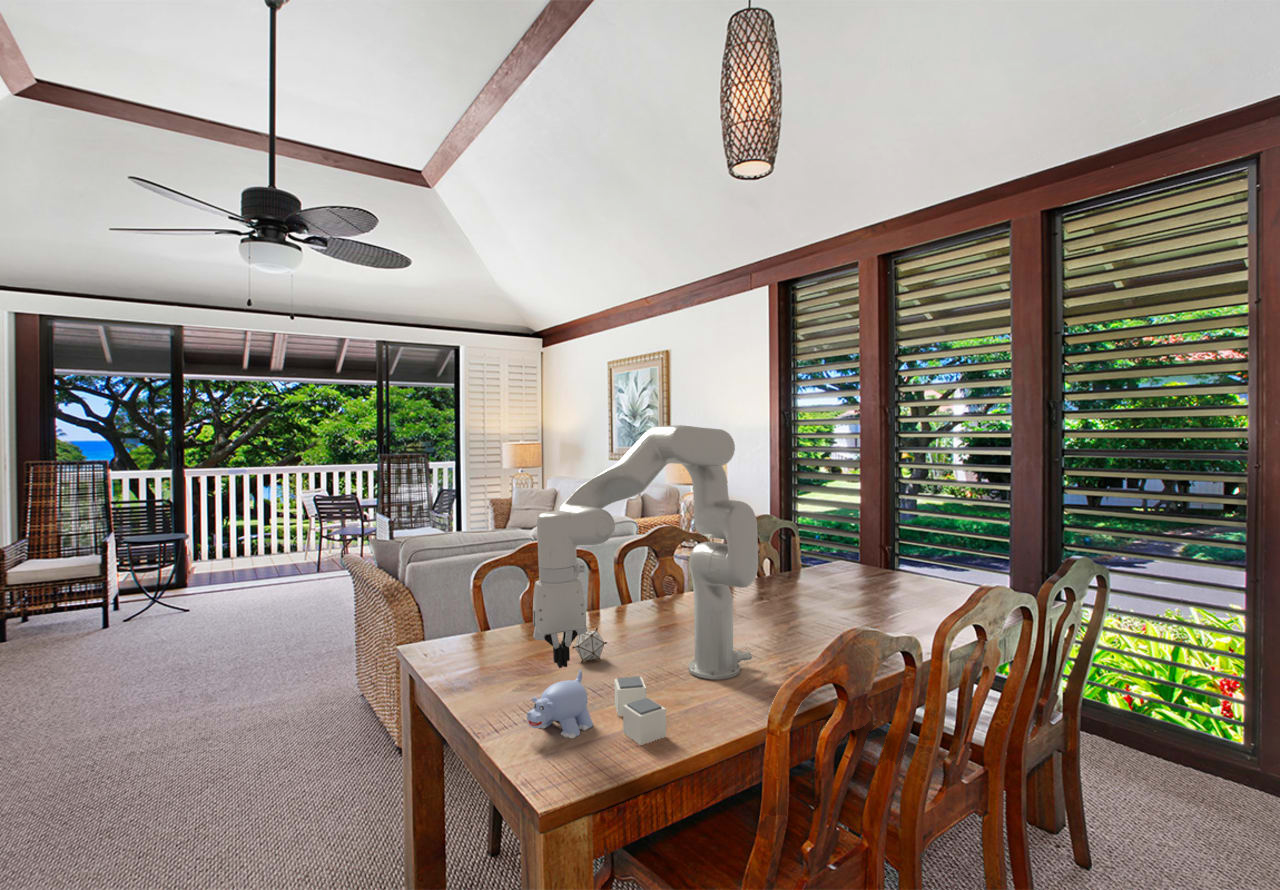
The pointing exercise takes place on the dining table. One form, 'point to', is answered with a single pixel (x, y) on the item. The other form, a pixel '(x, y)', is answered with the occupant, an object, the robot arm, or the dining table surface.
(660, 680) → the dining table surface
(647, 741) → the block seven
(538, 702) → the hippopotamus toy
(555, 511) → the robot arm
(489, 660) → the dining table surface
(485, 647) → the dining table surface
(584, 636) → the game die
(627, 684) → the block three
